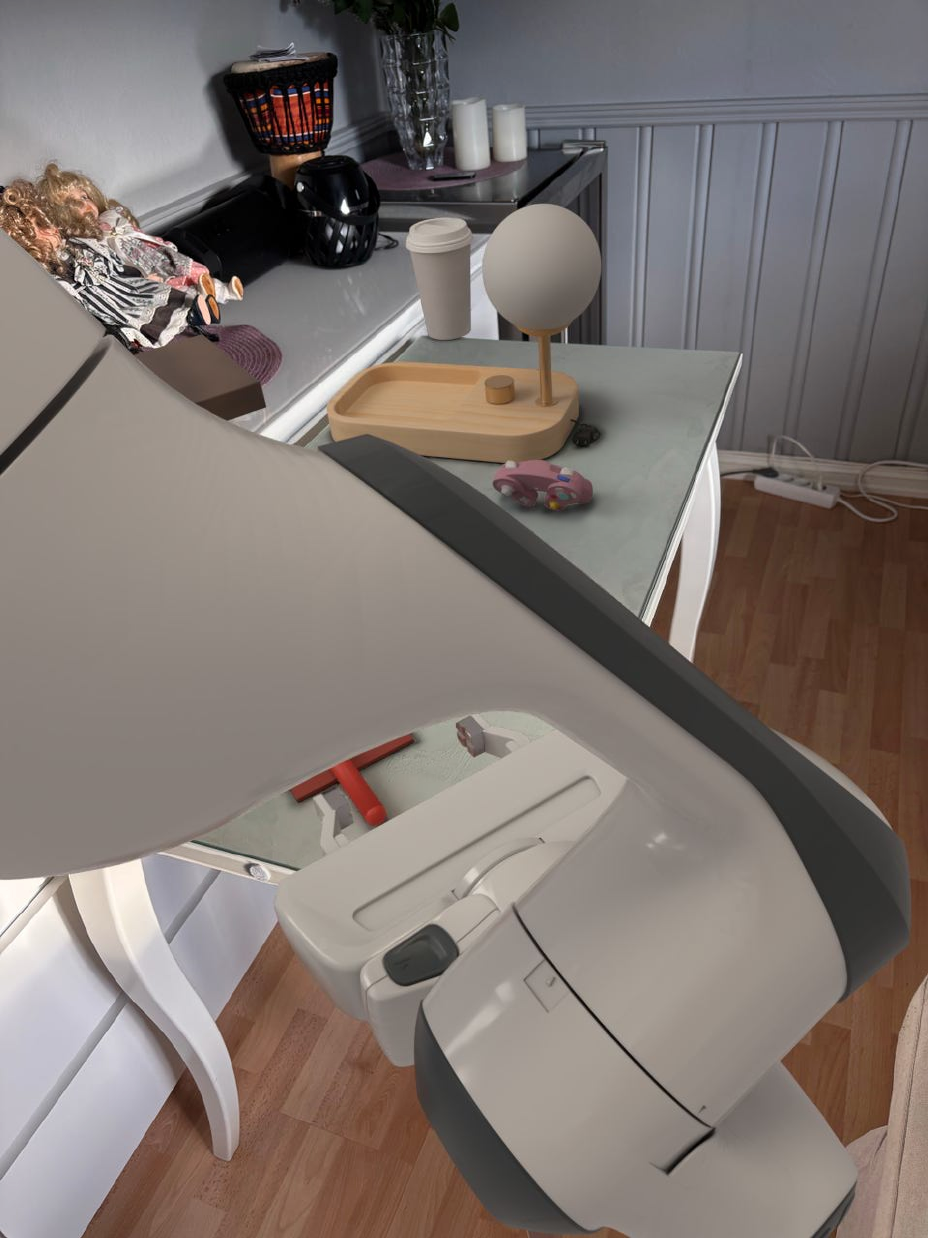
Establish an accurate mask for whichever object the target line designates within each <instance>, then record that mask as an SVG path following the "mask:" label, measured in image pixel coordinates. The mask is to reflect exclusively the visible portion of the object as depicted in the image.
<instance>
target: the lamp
mask: <svg viewBox="0 0 928 1238" xmlns="http://www.w3.org/2000/svg"><path fill="white" fill-rule="evenodd" d="M481 273H482V281H483V286H484V290H485V292H486V295H487V298H488V300H489V301H490V303H491V305H492V306H493V308H494V309H495V310H496V311H497V313H498V314H499V315H500V316H501V317H502V318H504V319H505V320H506V321H508V322H509V323H511V325H514V326H515V327H516V329H518V330H519V331H520V332H522V333H523V334H526V335H528V336H532V337H537V343H538V344H537V345H538V347H537V348H538V365H539V367H538V368H539V369H538V368H520V367H503V366H485V365H469V364H453V363H452V364H451V363H435V362H434V363H433V362H419V361H418V362H415V361H391V362H390V361H389V362H384V363H380V364H376V365H372V366H369V367H366V368H364V369H362V370H360V371H358V372H357V373H356V374H355V375H353V376H352V377H351V378H350V379H349V380H348V381H347V382H346V383H345V384H344V385H343V386H342V387H341V388H340V389H339V390H338V391H337V392H336V393H335V394H334V395H333V396H332V398H330V399H329V401H328V402H327V405H326V413H327V419H328V423H329V424H328V425H329V429H330V433H331V438H332V440H333V442H337V441H341V440H345V439H348V438H352V437H356V436H360V435H364V434H370V435H373V436H375V437H378V438H381V439H384V440H387V441H390V442H393V443H395V444H397V445H400V446H402V447H404V448H406V449H408V450H410V451H413V452H415V453H417V454H419V455H421V456H423V457H435V458H447V459H457V460H467V461H476V462H477V461H478V462H489V463H500V464H505V463H506V462H507V461H514V462H515V463H518V462H523V461H530V460H544V459H547V458H549V457H551V456H553V455H554V454H556V453H557V452H559V451H560V450H561V449H562V447H563V446H564V445H565V443H566V441H567V440H568V438H569V436H570V434H571V432H572V431H573V428H574V427H575V424H577V425H578V426H580V428H578V431H577V432H575V433H574V434H573V436H572V442H573V443H575V445H577V446H590V443H593V442H595V441H597V440H598V439H599V438H600V437H601V431H600V429H598V428H596V427H594V426H592V425H589V424H587V423H580V421H578V418H579V415H580V401H579V399H580V398H579V397H580V393H579V383H578V382H577V380H576V379H575V378H574V377H573V376H571V375H569V374H567V373H565V372H560V371H557V370H552V350H551V348H552V347H551V336H555V335H557V334H560V333H561V332H563V331H565V330H566V329H567V328H568V327H569V326H571V324H572V322H573V321H575V320H576V319H577V318H578V317H579V316H581V315H582V314H583V313H584V311H585V310H586V309H587V308H588V306H590V304H591V302H592V301H593V300H594V297H595V296H596V293H597V290H598V288H599V284H600V281H601V276H602V258H601V250H600V247H599V244H598V241H597V239H596V237H595V234H594V232H593V231H592V229H591V228H590V226H589V225H588V224H587V222H585V220H583V218H581V217H580V216H579V215H578V214H576V213H575V212H573V211H572V210H570V209H568V208H565V207H563V206H560V205H556V204H551V203H536V204H531V205H527V206H524V207H521V208H518V209H517V210H515V211H513V212H512V213H511V214H509V215H507V216H506V217H505V218H504V219H503V220H502V221H501V222H500V223H499V224H498V225H497V226H496V228H495V229H494V230H493V232H492V234H491V235H490V237H489V239H488V241H487V243H486V245H485V249H484V253H483V257H482V265H481ZM596 433H597V435H596ZM595 435H596V437H594V436H595Z"/></svg>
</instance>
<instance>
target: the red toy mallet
mask: <svg viewBox="0 0 928 1238" xmlns="http://www.w3.org/2000/svg"><path fill="white" fill-rule="evenodd" d="M330 770H331V771H332V772H333V774H334V775H335V777H336V778H337V780H338V783H339V785H340V786H341V788H343V790H344V792H345V793H346V794H347V796H348V798H349V799H350V800H351V802H352V803H353V805H354V806H355V808H356V809H357V810H358V812H359V813H360V815H361V816H362V818H363V819H364V821H365V822H366V823H367V824H368V825H370V826H373V827H378V826H380V825H382V824H383V823H385V822H386V819H387V809H386V808H385V806H384V804H383V803H382V802H381V801H380V798H378V796H377V795H376V794H375V791H373V789H372V788H371V786H370V785H369V784H368V782H367V781H366V780H365V779H364V777H363V775H362V774H361V773H360V770H359V771H358V770H357V768H356V767H355V766H354V764H353V763H352V762H351V760H350V759H348V760H346V761H344V762H342V763H340V764H338V765H336V766H334V767H332V768H330Z"/></svg>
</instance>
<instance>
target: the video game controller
mask: <svg viewBox="0 0 928 1238" xmlns="http://www.w3.org/2000/svg"><path fill="white" fill-rule="evenodd" d="M492 487H493V488H494V490H495V491H497V492H498V493H500V494H502V495H503V496H505V497H508V498H512V499H513V500H514V501H515V502H517V503H518V504H519V505H521V506H523V507H534V506H535V505H536V503H537V500H538V497H539V493H538V492H542V493H545V495H544V499H543V505H544V506H545V507H547V508H548V509H550V510H553V511H563V510H564V509H566V507H567V506H569V505H575V504H577V505H585V504H587V503H589V502H590V501H592V498H593V495H594V487H593V483H592V482H591V481H590V479H587V478H585V477H584V476H583V475H582V474H581V473H580V472H578V471H576V470H573V468H571V467H561V466H559V465H557V464H554V463H553V464H552V463H551V462H549V461H547V460H544V459H541V460H530V461H523V462H518V463H515V462H514V461H507V462H506V463H503V464H502V465H501V466H500V467H499V468H498V470H497V471H496V473H495V474H494V477H493V480H492Z"/></svg>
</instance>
